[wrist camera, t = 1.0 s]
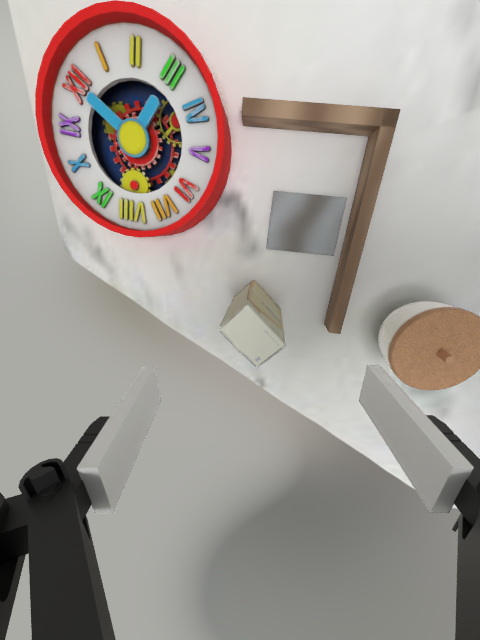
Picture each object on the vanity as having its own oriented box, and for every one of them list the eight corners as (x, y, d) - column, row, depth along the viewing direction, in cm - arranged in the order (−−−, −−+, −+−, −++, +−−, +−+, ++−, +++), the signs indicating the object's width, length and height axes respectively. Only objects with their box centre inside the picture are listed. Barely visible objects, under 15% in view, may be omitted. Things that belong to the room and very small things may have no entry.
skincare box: (281, 309, 36) (289, 346, 25) (258, 327, 38) (257, 370, 26) (253, 278, 35) (248, 302, 24) (230, 297, 36) (216, 330, 25)
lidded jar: (354, 349, 38) (382, 387, 29) (385, 283, 34) (428, 303, 25) (421, 366, 38) (469, 408, 29) (460, 302, 34) (529, 328, 25)
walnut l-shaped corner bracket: (386, 121, 27) (400, 109, 25) (334, 325, 37) (340, 333, 34) (244, 110, 28) (242, 97, 25) (228, 313, 37) (225, 320, 35)
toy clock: (153, 272, 30) (6, 148, 27) (170, 265, 36) (49, 161, 32) (266, 121, 24) (92, -69, 20) (265, 141, 29) (128, -7, 26)
